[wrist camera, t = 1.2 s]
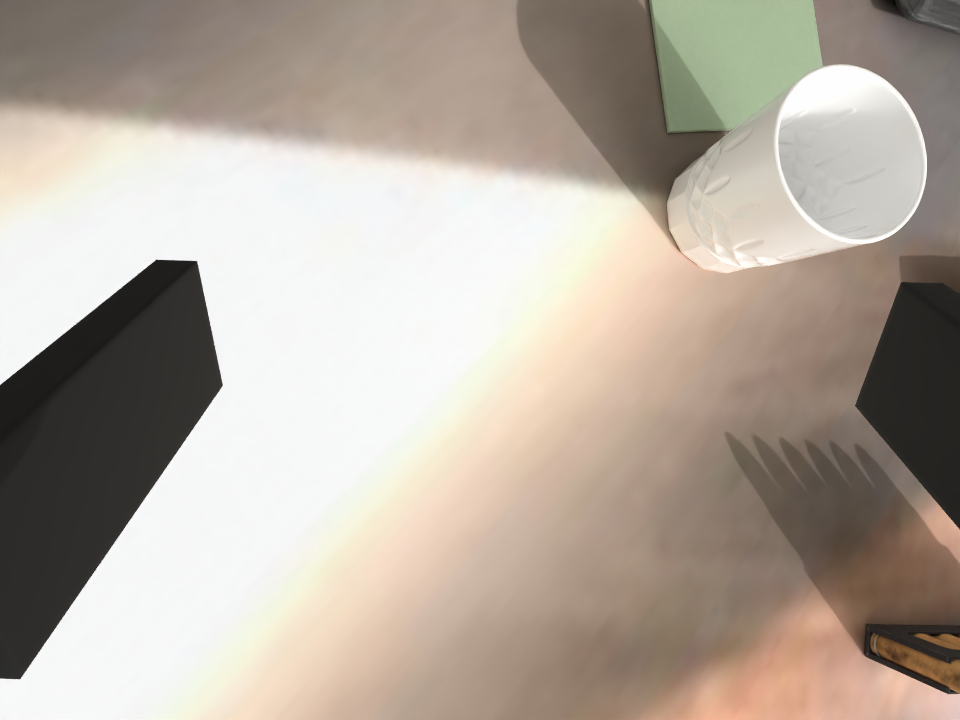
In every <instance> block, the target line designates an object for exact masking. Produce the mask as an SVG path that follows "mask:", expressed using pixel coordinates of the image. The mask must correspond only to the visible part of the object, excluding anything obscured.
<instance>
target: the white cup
mask: <svg viewBox="0 0 960 720" xmlns="http://www.w3.org/2000/svg"><path fill="white" fill-rule="evenodd" d="M926 174H927V157H926V148H925V143H924V139H923V135H922V132H921V129H920V126H919V124H918V121H917V119H916V117H915V115H914V113H913V111H912V110H911V108H910V106H909V105H908V103H907V102H906V101H905V99H904V98H903V97H902V95H901V94H900V93H899V92H898V91H897V90H896V89H895V88H894V87H893V86H892V85H891V84H890V83H888V82H887V81H886V80H884V79H883V78H882V77H880V76H878V75H877V74H875V73H873V72H871V71H869V70H867V69H864V68H861V67H857V66H853V65H846V64H835V65H828V66H824V67H820V68H817V69H815V70H813V71H811V72H809V73H807V74H806V75H804V76H803V77H802V78H800V79H799V80H798V81H796V82H795V83H794V84H792V85H791V86H790V87H788V88H787V89H786V90H784V91H783V92H782V93H781V94H779V95H778V96H777V97H775V98H774V99H773V100H771V101H770V102H769V103H767V104H766V105H764V106H763V107H762V108H760V109H759V110H758V111H756V112H755V113H754V114H752V115H751V116H750V117H748V118H747V119H746V120H744V121H743V122H742V123H740V124H739V125H738V126H736V127H735V128H734V129H732V130H731V131H730V132H729V133H727V134H726V135H725V136H724V137H722V138H721V139H720V140H719V141H718V142H717V143H715V144H714V145H713V146H711V147H710V148H709V149H708V150H707V151H706V152H705V154H704V155H702V156H701V157H700V158H698V159H697V160H695V161H694V162H693V163H692V164H691V165H690V166H688V167H687V168H686V169H685V170H684V171H683V172H682V173H681V174H680V175H679V176H678V177H677V178H676V179H675V181H674V184H673V187H672V189H671V192H670V195H669V198H668V201H667V212H668V223H669V230H670V232H671V234H672V236H673V238H674V240H675V241H676V243H677V245H678V247H679V249H680V251H681V252H682V253H683V254H684V255H685V256H686V257H688V258H689V259H690V260H691V261H693V262H694V263H695V264H697V265H698V266H699V267H700V268H702V269H707V270H712V271H716V272H721V273H729V272H734V271H737V270H741V269H745V268H750V267H756V266H768V265H774V264H779V263H784V262H790V261H794V260H798V259H803V258H807V257H811V256H815V255H820V254H824V253H828V252H833V251H837V250H841V249H846V248H850V247H854V246H859V245H863V244H868V243H872V242H876V241H879V240H882V239H885V238H887V237H889V236H890V235H892V234H894V233H895V232H897V231H898V230H899V229H900V228H901V227H903V226H904V225H905V224H906V223H907V221H908V220H909V219H910V218H911V216H912V215H913V213H914V212H915V210H916V208H917V206H918V204H919V202H920V200H921V197H922V194H923V191H924V187H925V182H926Z"/></svg>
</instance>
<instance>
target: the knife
mask: <svg viewBox="0 0 960 720" xmlns="http://www.w3.org/2000/svg"><path fill="white" fill-rule="evenodd" d="M895 2H896V5H897V9H898V11H899V12H900V13H902V14H903V15H904V16H905V17H906V19H907V20H910V21H913V22H917V23H920V24H924V25H927V26H931V27H934V28H938V29H941V30H945V31H948V32H952V33H955V34H959V35H960V0H895Z"/></svg>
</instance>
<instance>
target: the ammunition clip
mask: <svg viewBox="0 0 960 720" xmlns="http://www.w3.org/2000/svg"><path fill="white" fill-rule="evenodd" d="M865 656H866V657H867V658H870V659H872V660H874V661H876V662H879V663H881V664H883V665H885V666H887V667H890V668H892V669H894V670H896V671H898V672H901V673H903V674H905V675H907V676H909V677H912V678H914V679H916V680H918V681H921V682H923V683H925V684H927V685H929V686H932V687H934V688H936V689H938V690H940V691H943V692H945V693H947V694H960V626H939V625H878V624H867V626H866V652H865Z"/></svg>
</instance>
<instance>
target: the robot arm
mask: <svg viewBox="0 0 960 720" xmlns="http://www.w3.org/2000/svg"><path fill="white" fill-rule="evenodd" d="M222 386H223V384H222V379H221V375H220V370H219V365H218V360H217V355H216V350H215V346H214V341H213V336H212V331H211V326H210V321H209V317H208V312H207V307H206V302H205V297H204V293H203V288H202V283H201V278H200V273H199V268H198V264H197V261H177V260H156V261H154V262H153V263H152V264H151V265H149V266H148V267H147V268H146V269H144V270H143V271H142V272H141V273H139V274H138V275H137V276H136V277H134V278H133V279H132V280H131V281H129V282H128V283H127V284H126V285H124V286H123V287H122V288H121V289H119V290H118V291H117V292H116V293H114V294H113V295H112V296H111V297H109V298H108V299H107V300H106V301H104V302H103V303H102V304H101V305H100V306H98V307H97V308H96V309H95V310H93V311H92V312H91V313H90V314H88V315H87V316H86V317H85V318H83V319H82V320H81V321H80V322H78V323H77V324H76V325H75V326H73V327H72V328H71V329H70V330H68V331H67V332H66V333H65V334H63V335H62V336H61V337H60V338H58V339H57V340H56V341H55V342H53V343H52V344H51V345H50V346H48V347H47V348H46V349H45V350H43V351H42V352H41V353H40V354H38V355H37V356H36V357H35V358H33V359H32V360H31V361H30V362H28V363H27V364H26V365H25V366H23V367H22V368H21V369H20V370H18V371H17V372H16V373H15V374H13V375H12V376H11V377H10V378H8V379H7V380H6V381H5V382H3V383H2V384H1V385H0V678H3V679H21V677H22V676H23V674H24V673H25V671H26V670H27V668H28V667H29V666H30V664H31V663H32V661H33V660H34V658H35V657H36V655H37V654H38V652H39V651H40V650H41V648H42V647H43V645H44V644H45V642H46V641H47V639H48V638H49V637H50V635H51V634H52V632H53V631H54V629H55V628H56V626H57V625H58V624H59V622H60V621H61V619H62V618H63V616H64V615H65V613H66V612H67V610H68V609H69V608H70V606H71V605H72V603H73V602H74V600H75V599H76V597H77V596H78V595H79V593H80V592H81V590H82V589H83V587H84V586H85V584H86V583H87V582H88V580H89V579H90V577H91V576H92V574H93V573H94V571H95V570H96V568H97V567H98V566H99V564H100V563H101V561H102V560H103V558H104V557H105V555H106V554H107V553H108V551H109V550H110V548H111V547H112V545H113V544H114V542H115V541H116V539H117V538H118V537H119V535H120V534H121V532H122V531H123V529H124V528H125V526H126V525H127V524H128V522H129V521H130V519H131V518H132V516H133V515H134V513H135V512H136V511H137V509H138V508H139V506H140V505H141V503H142V502H143V500H144V499H145V497H146V496H147V495H148V493H149V492H150V490H151V489H152V487H153V486H154V484H155V483H156V482H157V480H158V479H159V477H160V476H161V474H162V473H163V471H164V470H165V469H166V467H167V466H168V464H169V463H170V461H171V460H172V458H173V457H174V455H175V454H176V453H177V451H178V450H179V448H180V447H181V445H182V444H183V442H184V441H185V440H186V438H187V437H188V435H189V434H190V432H191V431H192V429H193V428H194V426H195V425H196V424H197V422H198V421H199V419H200V418H201V416H202V415H203V413H204V412H205V411H206V409H207V408H208V406H209V405H210V403H211V402H212V400H213V399H214V398H215V396H216V395H217V393H218V392H219V390H220V389H221V387H222ZM855 406H856V407H857V409H858V410H859V411H860V412H861V413H862V415H863V416H864V417H865V418H866V419H867V420H868V422H869V423H870V424H871V425H872V426H873V427H874V429H875V430H876V431H877V432H878V433H879V435H880V436H881V437H882V438H883V439H884V440H885V442H886V443H887V444H888V445H889V446H890V448H891V449H892V450H893V451H894V452H895V453H896V455H897V456H898V457H899V458H900V459H901V461H902V462H903V463H904V464H905V465H906V466H907V468H908V469H909V470H910V471H911V472H912V474H913V475H914V476H915V477H916V478H917V479H918V481H919V482H920V483H921V484H922V485H923V487H924V488H925V489H926V490H927V491H928V492H929V494H930V495H931V496H932V497H933V498H934V500H935V501H936V502H937V503H938V504H939V505H940V507H941V508H942V509H943V510H944V511H945V513H946V514H947V515H948V516H949V517H950V518H951V520H952V521H953V522H954V523H955V524H956V525H957V527H958V528H959V529H960V295H959V294H958V293H956V292H955V291H953V290H952V289H950V288H949V287H947V286H946V285H944V284H943V283H910V282H901V284H900V287H899V289H898V292H897V295H896V297H895V300H894V303H893V306H892V308H891V311H890V314H889V316H888V319H887V322H886V324H885V327H884V330H883V332H882V335H881V338H880V340H879V343H878V346H877V348H876V351H875V354H874V357H873V359H872V362H871V365H870V367H869V370H868V373H867V375H866V378H865V381H864V383H863V386H862V389H861V391H860V394H859V397H858V400H857V402H856V405H855Z"/></svg>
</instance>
